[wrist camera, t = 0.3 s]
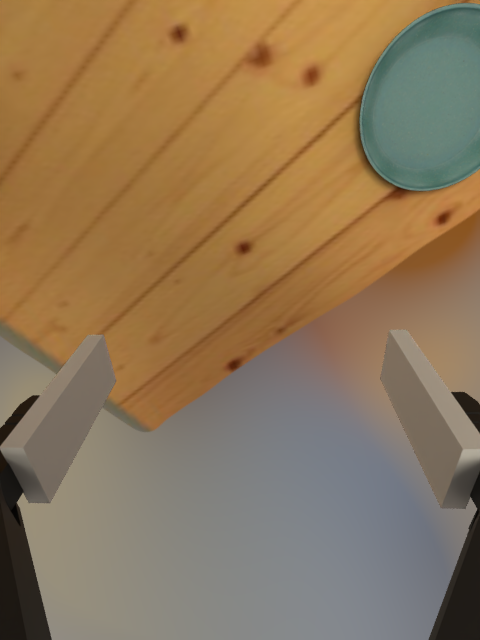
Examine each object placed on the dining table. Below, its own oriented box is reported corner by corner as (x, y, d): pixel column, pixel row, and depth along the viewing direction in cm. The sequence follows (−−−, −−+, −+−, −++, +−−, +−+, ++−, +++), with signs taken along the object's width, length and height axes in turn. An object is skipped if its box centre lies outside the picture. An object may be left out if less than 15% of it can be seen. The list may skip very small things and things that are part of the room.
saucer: (398, 215, 40) (406, 221, 38) (324, 98, 35) (328, 96, 33) (535, 118, 35) (554, 118, 33) (471, -36, 30) (489, -49, 28)
